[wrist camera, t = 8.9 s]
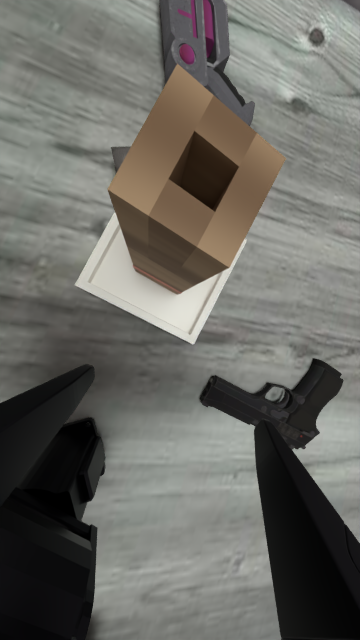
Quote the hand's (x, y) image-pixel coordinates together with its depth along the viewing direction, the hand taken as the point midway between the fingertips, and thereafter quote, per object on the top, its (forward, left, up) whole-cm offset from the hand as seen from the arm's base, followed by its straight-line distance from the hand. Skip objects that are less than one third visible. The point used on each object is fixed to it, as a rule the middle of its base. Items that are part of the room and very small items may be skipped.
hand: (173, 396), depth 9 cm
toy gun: (+11, +29, -11) cm, 33 cm away
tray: (+2, +9, -10) cm, 14 cm away
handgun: (+14, -8, -11) cm, 19 cm away
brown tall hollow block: (+2, +9, -10) cm, 14 cm away
